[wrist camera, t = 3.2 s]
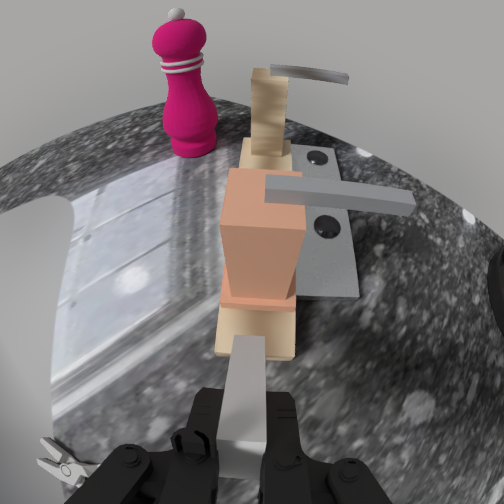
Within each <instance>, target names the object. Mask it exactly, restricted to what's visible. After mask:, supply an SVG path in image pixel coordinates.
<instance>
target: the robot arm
mask: <svg viewBox="0 0 504 504" xmlns="http://www.w3.org/2000/svg"><path fill="white" fill-rule="evenodd" d="M488 289H489V296H490V301H491V305H492V309H493V312H494V315H495V318H496V321H497V323H498V326H499V328H500V330H501V332H502V334H503V335H504V247H503V248H502V249H501V250H499V251H498V252H497V253H496V254H495V255H494V256H493V258H492V259H491V261H490V264H489V269H488ZM170 439H171V443H172V446H173V449H171V450H169V451H163V452H147V451H146V450H145V449H143V448H142V447H141V446H138V445H135V444H124V445H121V446H119V447H117V448H116V449H114V450H113V452H112V453H111V454H110V455H109V456H108V457H107V458H106V459H105V460H104V461H103V463H102V464H101V465H100V466H99V467H98V468H97V469H96V470H95V471H94V472H93V473H92V475H91V476H90V477H89V478H88V479H87V480H86V481H85V482H84V483H83V484H82V485H81V486H80V487H79V488H78V489H77V491H76V492H75V493H74V494H73V495H72V496H71V497H70V498H69V499H68V500H67V501H66V502H65V503H64V504H216V501H217V494H218V477H227V478H239V479H260V488H259V493H258V498H257V499H259V501H258V504H392V502H391V501H390V500H389V498H388V497H387V495H386V494H385V492H384V491H383V489H382V488H381V486H380V485H379V483H378V482H377V480H376V479H375V477H374V476H373V474H372V473H371V471H370V470H369V468H368V467H367V466H366V465H365V464H364V463H363V462H362V461H360V460H358V459H354V458H345V459H341V460H339V461H337V462H335V463H334V464H331V463H324V462H319V461H315V460H313V459H311V458H309V457H308V456H307V455H305V454H304V452H303V451H302V448H301V444H300V437H299V429H298V422H297V414H296V407H295V400H294V399H293V397H292V396H291V395H290V393H289V392H266V373H265V336H251V335H236V334H234V339H233V345H232V350H231V356H230V362H229V368H228V373H227V379H226V385H225V390H224V389H214V388H205V387H203V388H202V389H201V390H200V391H199V392H198V393H197V394H196V395H195V398H194V402H193V405H192V409H191V413H190V415H189V419H188V422H187V426H186V427H185V428H181V429H179V430H177V431H176V432H174V433H173V435H172V436H171V438H170Z"/></svg>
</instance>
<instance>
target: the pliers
mask: <svg viewBox="0 0 504 504" xmlns="http://www.w3.org/2000/svg"><path fill="white" fill-rule="evenodd" d="M40 442H41V443H42V444H43V446H44V447H45V448H46V449H47V450H48V451H49V452H50V453H51V454H52V455H53V457H54V458H55V459H56V460H57V461H58V462H60V463H62V464H61V465H59V464H58V463H57V462H54V461H52V460H50V459H48V458H38V459H37V463H38V464H39V465H40V466H41V467H43V468H44V469H45V470H47V471H48V472H50V473H51V474H53V475H54V476H56V477H57V478H59V479H60V480H62V481H64V482H67V483H69V484H71V485H76V486H77V487H78V488H79V487H80V486H81V485H82V484H83V483H84V482H85V481H86V480H85V476H86V477H90V476H91V475H92V473H93V472H94V471H95V470H96V469H97V468H98V467H99V466H100V465H101V464H99V465H89V464H86V463H80V462H78V461H77V460H76V459H75V458H74V457H73V456H72V455H70V454H69V453H68V452H66V451H65V450H64V449H62V448H61V447H60V446H58V445H57V444H56V443H55V442H54V440H53V439H51V438H50V437H41V439H40Z"/></svg>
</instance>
